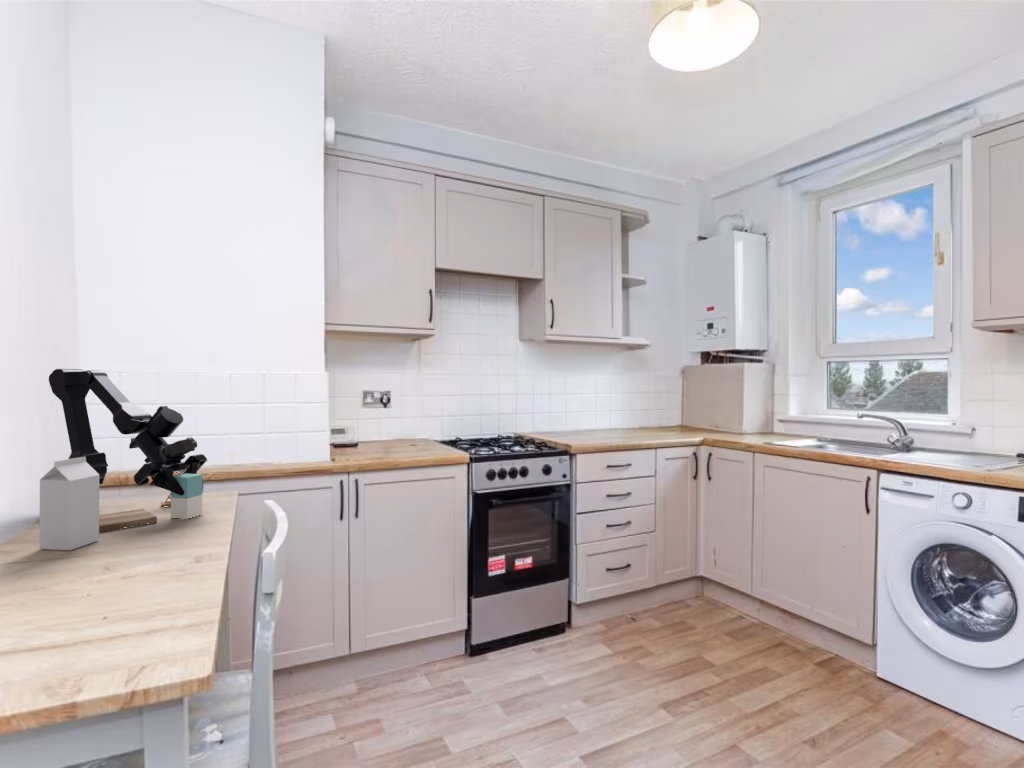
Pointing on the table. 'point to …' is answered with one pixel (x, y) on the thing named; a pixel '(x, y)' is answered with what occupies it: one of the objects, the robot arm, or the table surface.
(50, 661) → the table surface
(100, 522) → the board
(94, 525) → the milk carton
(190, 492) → the block
